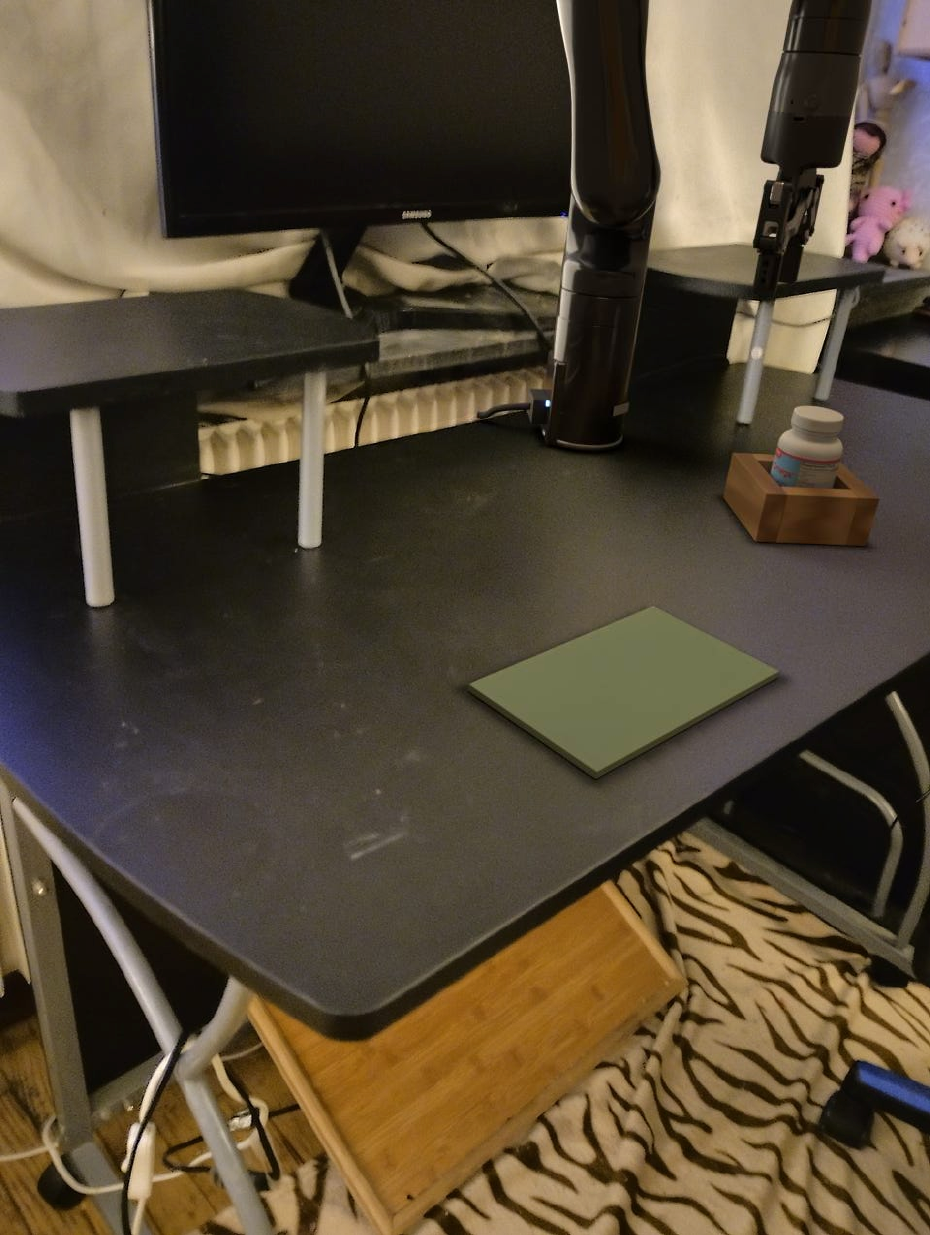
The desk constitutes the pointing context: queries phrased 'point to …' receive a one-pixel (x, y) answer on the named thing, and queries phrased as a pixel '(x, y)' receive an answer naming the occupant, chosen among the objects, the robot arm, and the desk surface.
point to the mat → (622, 688)
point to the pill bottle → (809, 449)
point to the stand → (798, 505)
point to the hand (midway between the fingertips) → (774, 288)
